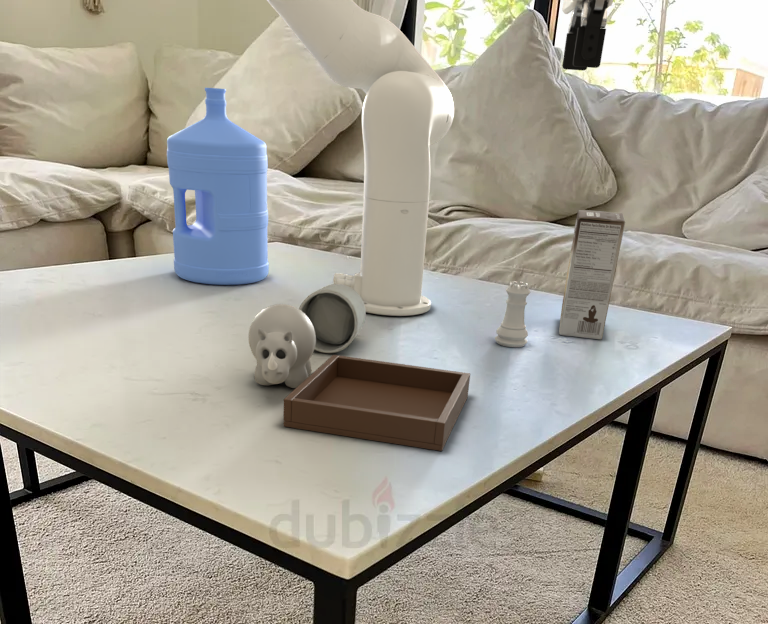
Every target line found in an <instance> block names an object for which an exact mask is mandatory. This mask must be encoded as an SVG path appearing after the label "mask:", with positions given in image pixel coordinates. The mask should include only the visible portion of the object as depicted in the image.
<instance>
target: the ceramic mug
mask: <svg viewBox="0 0 768 624" xmlns="http://www.w3.org/2000/svg"><path fill="white" fill-rule="evenodd" d="M298 309H299V310H301V311H302V312H303V313H305V314H306V315H307V317H308V318H309V319H310V321H311V322H312V324H313V327H314V330H315V335H316V344H315V349H314V351H317V352H319V353H322V354H323V353H324V354H334V353H339V352H341V351H343V350H345V349H346V348H348V347H349V346H350V345H351V344H352V343H353V341H354V339H355V338H356V337H357V336H358V334H359V333H360V332H361V331H362V329H363V327H364V324H365V321H366V317H367V316H366V313H367V312H366V310H365V305H364V302H363V300H362V298H361V296H360V295H359V294H358V293H357V292H356V291H355V290H354V289H352V288H351V287H348V286H346V285H342V284H334V283H332V284H328V285H326V286H323V287H321V288H319V289H318V290H316V291H313V292H311V293H310V294H309V295H308V296H306V297H305V299H304V300H303V301H302V302H301V303H300V305H299V308H298Z"/></svg>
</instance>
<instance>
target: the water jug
mask: <svg viewBox="0 0 768 624" xmlns="http://www.w3.org/2000/svg"><path fill="white" fill-rule="evenodd" d="M204 91H205V100H204V103H205V115H204V117H203V118H202V119H200V120H198V121H197V122H194V123H192V124H191V125H188V126H187V127H185V128H183V129H181V130H178V131H177V132H175V133H173V134H171V135H169V136H168V137H167V138H166V139H167V140H166V146H167V147H166V148H167V149H166V160H167V162H166V163H167V167H168V178H169V179H168V180H169V185H170V186H171V187H172V191H173V204H174V205H173V208H174V223H175V226H174V227H175V228H173V229H172V242H173V243H172V244H173V257H174V258H173V269H174V272H175V274H176V275H177V276H178V277H179V278H180V279H183V280H186V281H188V282H193V283H197V284H206V285H214V286H215V285H216V286H218V285H219V286H235V285H236V286H237V285H239V286H240V285H247V284H253V283H258V282H261V281H263V280H264V279H265V278H267V277H268V275H269V271H270V270H269V268H270V267H269V266H270V264H269V259H268V258H269V257H268V252H269V248H268V247H269V246H268V226H269V209H268V167H269V166H268V164H269V162H268V161H269V159H268V153H267V143H266V142H265V141H264V140H262V139H261V138H259V137H258V136H256V135H254V134H252V133H250V132H249V131H248V130H246V129H244V128H243V127H241V126H239V125H238V124H236V123H235V122H233V121H231V119H229V118H228V116H227V100H226V92H227V89H226V88H219V87H204ZM187 191H194V201H195V221H194V222H193V223H192V224H188V223H187V222H188V221H187V209H186V208H187V206H186V192H187Z"/></svg>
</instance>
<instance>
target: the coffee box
mask: <svg viewBox="0 0 768 624" xmlns="http://www.w3.org/2000/svg"><path fill="white" fill-rule="evenodd" d="M576 213H577V214H576V219H575V225H574V230H573V236H572V243H571V248H570V254H569V260H568V266H567V271H566V279H565V285H564V291H563V298H562V304H561V312H560V316H559V317H560V318H559V329H558V335H560V336H566V337H575V338H583V339H584V338H586V339H594V340H603V337H604V331H605V326H606V321H607V316H608V310H609V305H610V301H611V297H612V291H613V285H614V280H615V276H616V272H617V265H618V262H619V257H620V251H621V248H622V247H621V246H622V241H623V236H624V235H623V234H624V231H625V226H626V219H625V217H624V214H623V212H612V211H603V210H602V211H600V210H590V209H589V210H588V209H578V210H577V212H576Z"/></svg>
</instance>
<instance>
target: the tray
mask: <svg viewBox="0 0 768 624" xmlns="http://www.w3.org/2000/svg"><path fill="white" fill-rule="evenodd" d="M470 379H471V373H470V372H463V371H454V370H450V369H449V370H448V369H441V368H435V367H426V366H418V365H412V364H405V363H397V362H390V361H382V360H376V359H367V358H361V357H353V356H346V355H337V354H332V355H331V356H330V357H329V358H328V359H327V360H325V361H324V363H322V364H320V366H319V367H318V368H317V369H315V370H314V371H313V372H311V374H310V375H309V376H308V378H307V379H306V380H305V381H303V382H302V383H301V384H300V385H299V386H298V387H297V388H294V389H293V390H291V392H290V393H288V395H287V396H285V398H283V427H286V428H292V429H299V430H305V431H310V432H317V433H323V434H324V433H325V434H330V435H336V436H342V437H348V438H355V439H362V440H369V441H375V442H380V443H381V442H382V443H387V444H394V445H401V446H406V447H411V448H412V447H413V448H420V449H425V450H433V451H438V452H439V451H440V452H442V451H443V450H444V447H445V446H446V443H447V441H448V440H449V437H450V435H451V433H452V431H453V429H454V427H455V424H456V422H457V421H458V418H459V416H460V414H461V412H462V410H463V408H464V406H465V404H466V401H467V399H468V397H469V389H470Z"/></svg>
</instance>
